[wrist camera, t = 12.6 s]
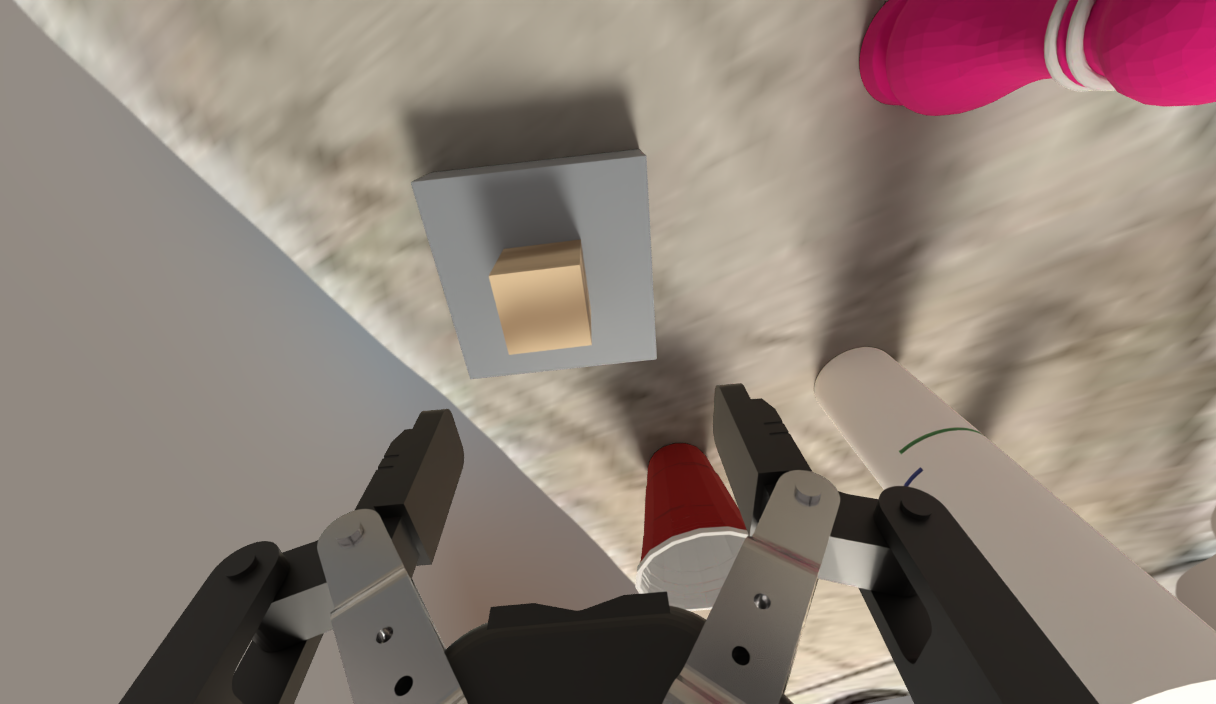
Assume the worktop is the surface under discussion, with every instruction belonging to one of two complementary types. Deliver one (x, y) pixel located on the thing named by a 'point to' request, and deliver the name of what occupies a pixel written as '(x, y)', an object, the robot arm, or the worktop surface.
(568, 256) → the oak cube
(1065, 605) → the cylindrical container
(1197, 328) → the worktop surface
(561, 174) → the slate plinth
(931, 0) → the pepper mill
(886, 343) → the worktop surface
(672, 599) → the plastic cup
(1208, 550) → the worktop surface
